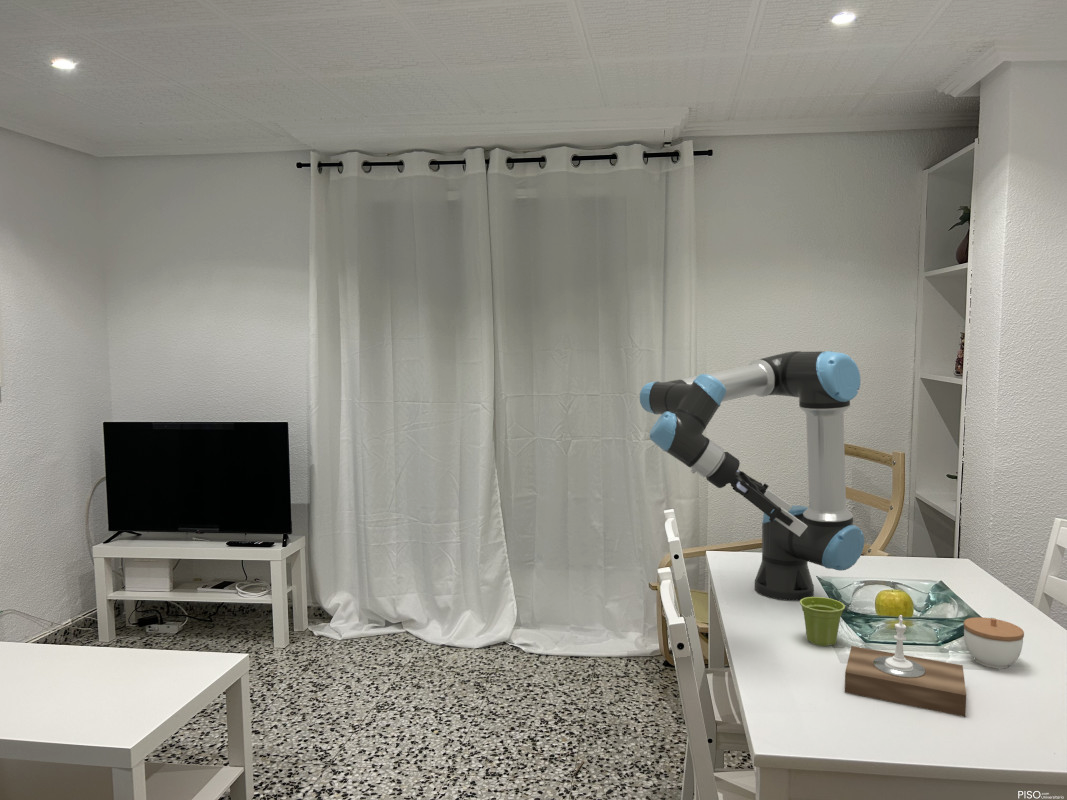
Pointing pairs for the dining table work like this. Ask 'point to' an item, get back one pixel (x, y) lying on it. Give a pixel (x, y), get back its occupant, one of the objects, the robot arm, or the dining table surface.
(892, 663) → the chess piece
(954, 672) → the walnut base
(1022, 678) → the dining table surface
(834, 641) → the plant pot
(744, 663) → the dining table surface
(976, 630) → the lidded jar
